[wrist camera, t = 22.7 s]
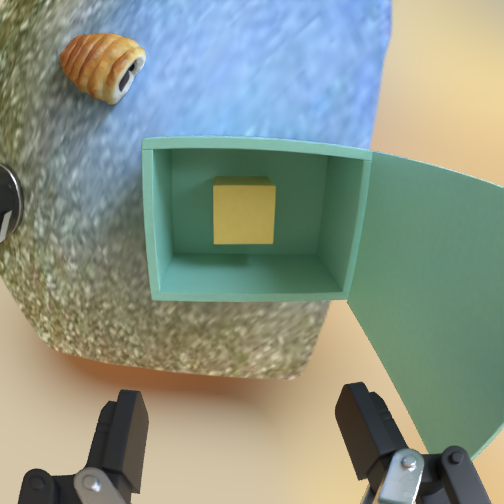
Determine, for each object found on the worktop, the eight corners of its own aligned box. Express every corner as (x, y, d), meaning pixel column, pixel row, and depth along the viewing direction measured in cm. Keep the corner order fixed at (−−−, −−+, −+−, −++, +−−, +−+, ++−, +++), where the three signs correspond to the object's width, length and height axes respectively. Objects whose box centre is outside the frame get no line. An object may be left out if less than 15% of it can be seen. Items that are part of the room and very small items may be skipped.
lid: (441, 484, 8) (501, 451, 9) (598, 232, 3) (619, 240, 4) (346, 302, 24) (395, 300, 25) (371, 150, 19) (424, 160, 20)
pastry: (56, 79, 22) (37, 75, 18) (87, 25, 20) (72, 14, 17) (120, 109, 25) (107, 106, 21) (156, 51, 23) (147, 40, 19)
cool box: (168, 256, 31) (151, 300, 23) (165, 136, 26) (141, 138, 18) (320, 258, 33) (348, 299, 25) (333, 143, 28) (373, 150, 20)
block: (215, 226, 29) (213, 244, 25) (214, 176, 27) (213, 185, 23) (265, 225, 30) (273, 244, 25) (267, 176, 28) (276, 185, 23)
